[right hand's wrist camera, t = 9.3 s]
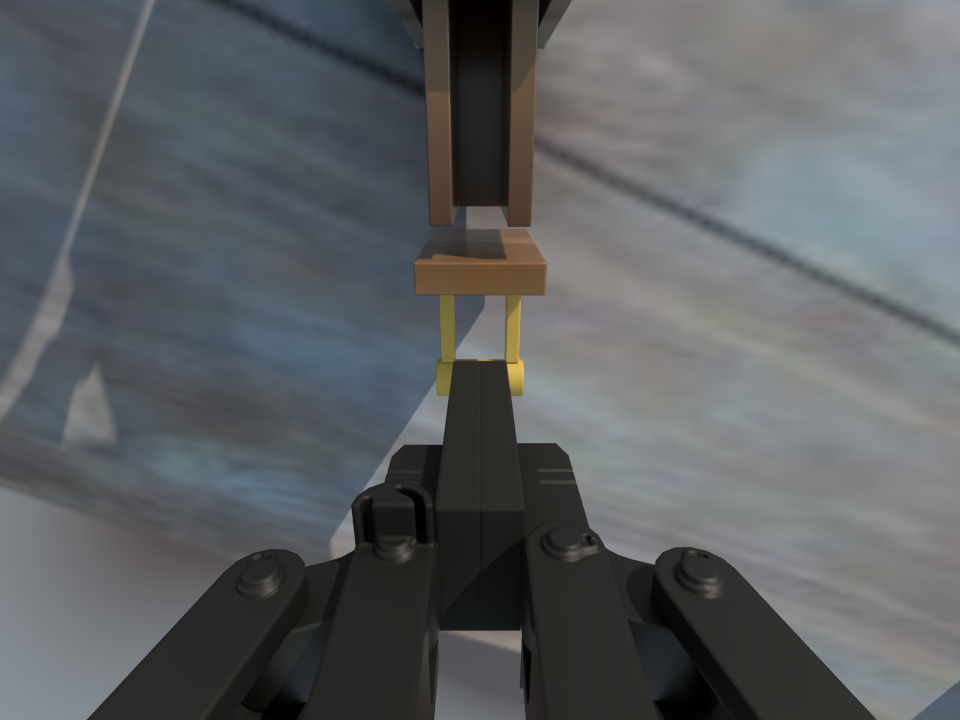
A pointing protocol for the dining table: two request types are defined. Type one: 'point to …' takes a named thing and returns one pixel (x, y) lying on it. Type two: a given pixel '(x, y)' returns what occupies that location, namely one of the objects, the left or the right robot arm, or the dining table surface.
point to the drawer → (480, 163)
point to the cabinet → (410, 13)
